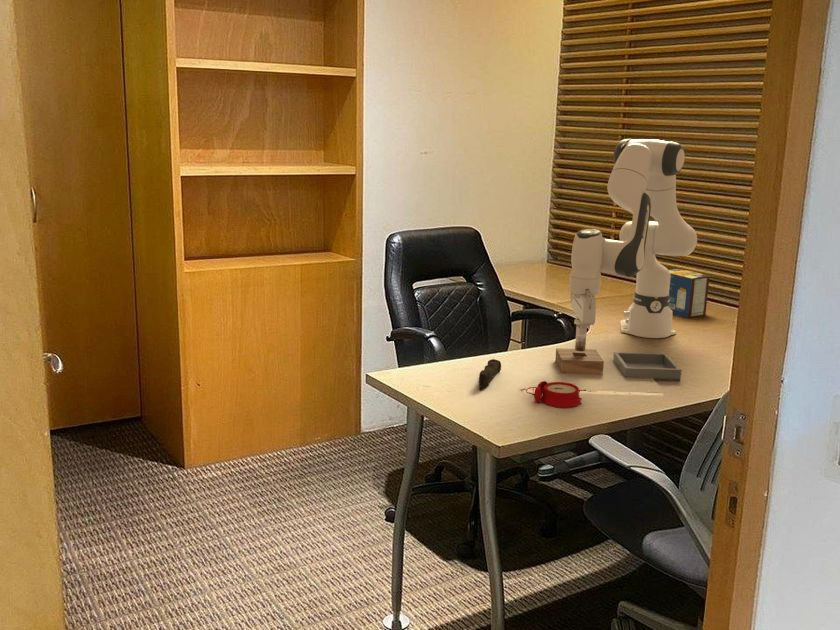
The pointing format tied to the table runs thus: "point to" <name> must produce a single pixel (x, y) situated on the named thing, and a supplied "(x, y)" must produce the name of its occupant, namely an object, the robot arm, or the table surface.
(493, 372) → the hand tool
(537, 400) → the alarm clock
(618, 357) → the tray
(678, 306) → the protein box
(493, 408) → the table surface
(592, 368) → the block
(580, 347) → the pin
